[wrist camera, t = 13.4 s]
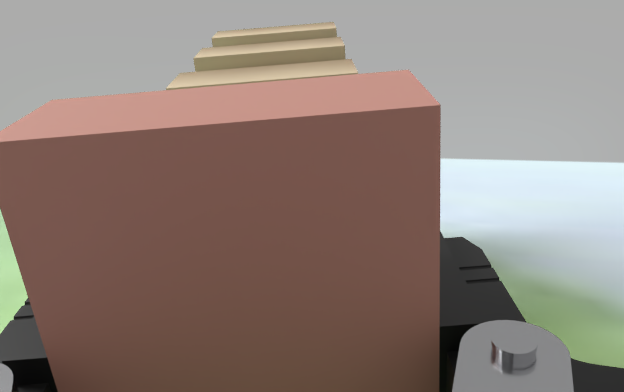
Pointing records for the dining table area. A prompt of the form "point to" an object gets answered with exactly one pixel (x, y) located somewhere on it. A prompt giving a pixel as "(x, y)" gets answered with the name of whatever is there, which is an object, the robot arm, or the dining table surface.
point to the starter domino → (233, 236)
